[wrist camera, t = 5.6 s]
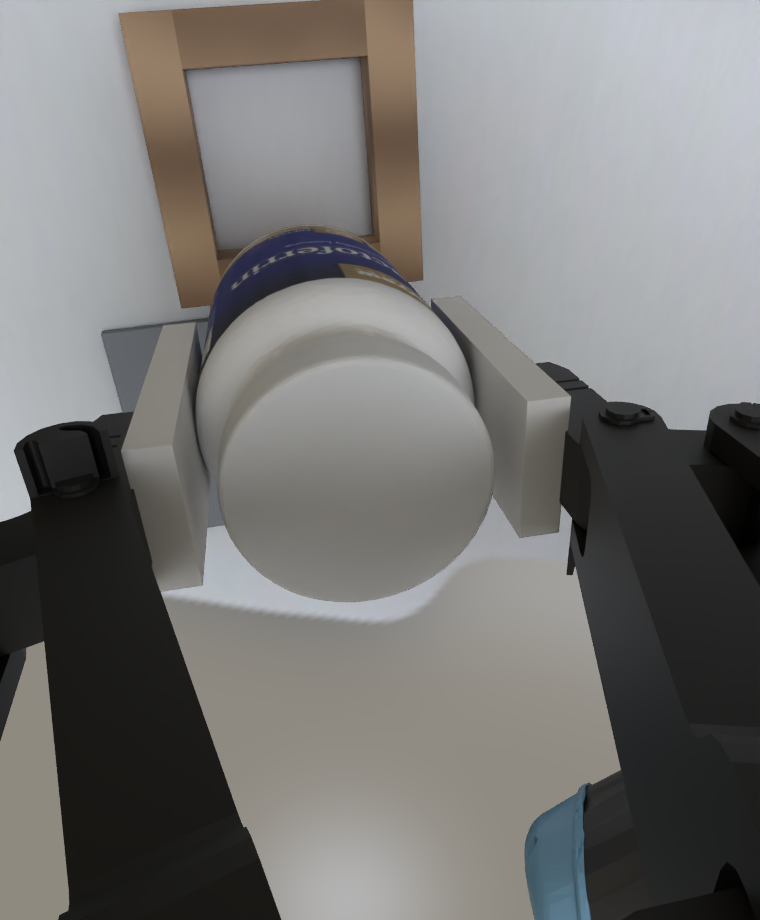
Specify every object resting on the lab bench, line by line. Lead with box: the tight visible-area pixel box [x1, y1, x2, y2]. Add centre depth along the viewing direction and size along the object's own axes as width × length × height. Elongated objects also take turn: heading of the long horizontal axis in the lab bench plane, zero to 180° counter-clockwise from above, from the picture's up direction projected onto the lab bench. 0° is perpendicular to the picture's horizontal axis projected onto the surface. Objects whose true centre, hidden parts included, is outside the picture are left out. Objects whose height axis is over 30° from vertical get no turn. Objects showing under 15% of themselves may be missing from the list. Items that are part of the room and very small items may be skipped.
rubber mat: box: [101, 319, 225, 528], centre depth 37 cm, size 12×12×1 cm
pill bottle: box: [195, 224, 495, 602], centre depth 16 cm, size 6×6×10 cm
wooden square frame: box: [118, 0, 423, 308], centre depth 31 cm, size 12×12×2 cm
